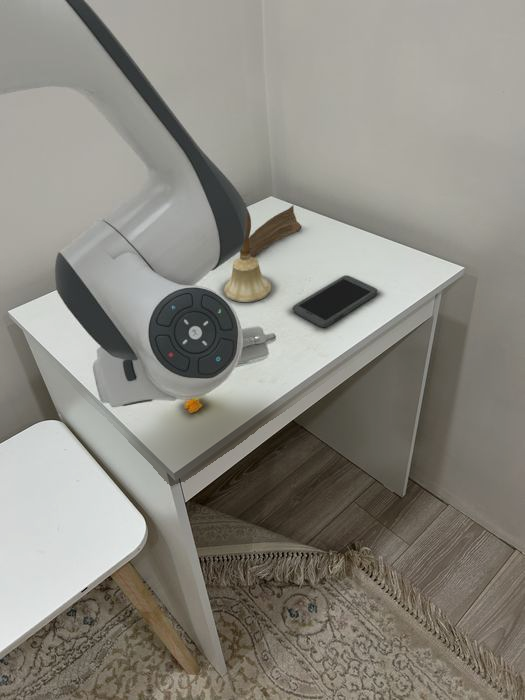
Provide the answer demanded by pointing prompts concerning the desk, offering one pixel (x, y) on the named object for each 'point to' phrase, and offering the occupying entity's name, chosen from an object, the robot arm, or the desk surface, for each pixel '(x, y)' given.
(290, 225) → the wood plank
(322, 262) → the desk surface
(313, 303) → the cell phone
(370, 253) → the desk surface
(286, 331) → the desk surface
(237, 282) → the hand bell
